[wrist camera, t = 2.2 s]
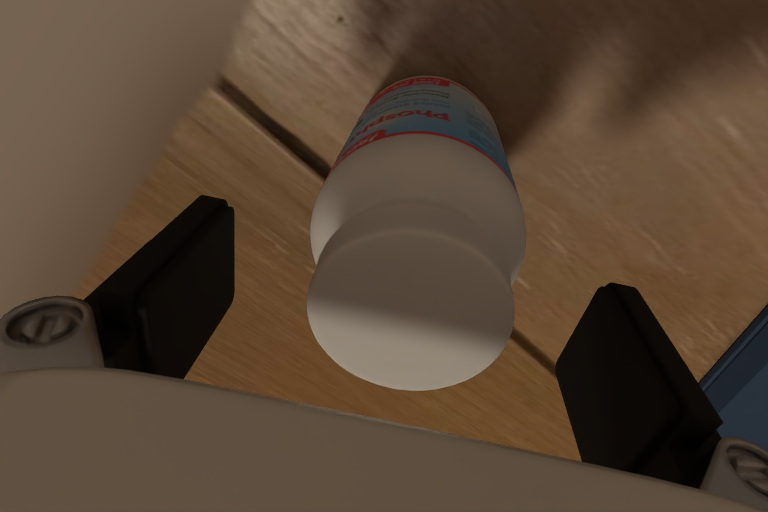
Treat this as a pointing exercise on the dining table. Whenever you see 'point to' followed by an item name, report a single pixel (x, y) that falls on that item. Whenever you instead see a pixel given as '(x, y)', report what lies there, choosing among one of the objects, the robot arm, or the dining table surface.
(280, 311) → the dining table surface
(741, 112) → the dining table surface
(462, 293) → the pill bottle
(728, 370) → the book
